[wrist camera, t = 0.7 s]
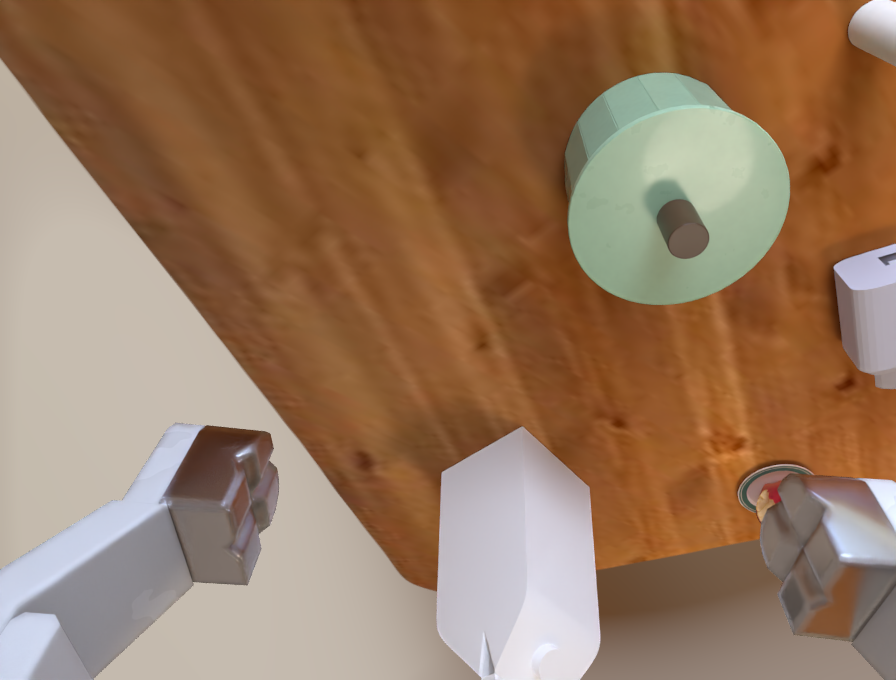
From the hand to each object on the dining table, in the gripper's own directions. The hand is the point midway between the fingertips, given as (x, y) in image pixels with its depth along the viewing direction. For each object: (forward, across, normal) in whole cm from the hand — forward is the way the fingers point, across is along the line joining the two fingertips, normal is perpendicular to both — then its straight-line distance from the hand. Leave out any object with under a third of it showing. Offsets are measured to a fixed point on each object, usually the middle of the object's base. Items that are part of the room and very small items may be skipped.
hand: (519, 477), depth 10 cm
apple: (+42, -33, +44) cm, 69 cm away
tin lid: (+32, -11, +9) cm, 35 cm away
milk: (+42, -5, +46) cm, 63 cm away
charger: (+42, -36, +21) cm, 59 cm away
